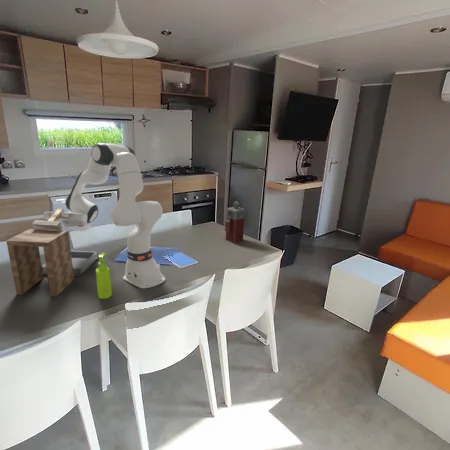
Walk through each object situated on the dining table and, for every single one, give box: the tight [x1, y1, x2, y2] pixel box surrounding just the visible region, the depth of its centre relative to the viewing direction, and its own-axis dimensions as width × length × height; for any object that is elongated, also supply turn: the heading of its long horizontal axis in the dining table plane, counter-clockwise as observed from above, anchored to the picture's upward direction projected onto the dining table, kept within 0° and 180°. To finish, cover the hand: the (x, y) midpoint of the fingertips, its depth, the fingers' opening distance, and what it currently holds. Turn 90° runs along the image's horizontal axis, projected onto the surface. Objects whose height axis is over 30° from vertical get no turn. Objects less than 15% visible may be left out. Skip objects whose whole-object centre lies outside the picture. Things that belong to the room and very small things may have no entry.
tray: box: [41, 249, 99, 277], centre depth 164 cm, size 22×20×4 cm
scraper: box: [31, 207, 66, 231], centre depth 145 cm, size 15×12×4 cm
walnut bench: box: [5, 228, 75, 297], centre depth 139 cm, size 16×18×26 cm
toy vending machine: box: [224, 201, 246, 244], centre depth 208 cm, size 9×11×28 cm
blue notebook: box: [163, 251, 199, 269], centre depth 178 cm, size 19×13×1 cm, turn 42°
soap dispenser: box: [95, 252, 113, 300], centre depth 135 cm, size 6×7×20 cm
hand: (57, 213), depth 148 cm, fingers closed on scraper, 2 cm apart
